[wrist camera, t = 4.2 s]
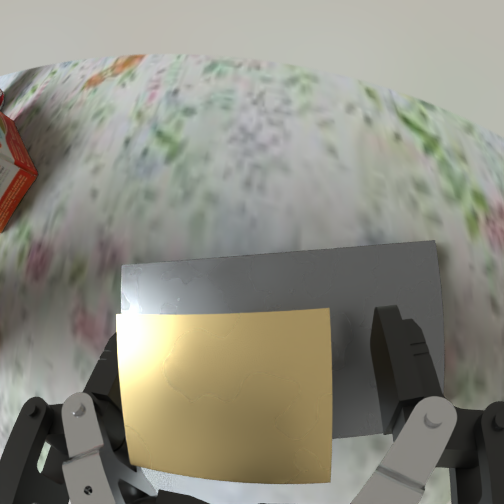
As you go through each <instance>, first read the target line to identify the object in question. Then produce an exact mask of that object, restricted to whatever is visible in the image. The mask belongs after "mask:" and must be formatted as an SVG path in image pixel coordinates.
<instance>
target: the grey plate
mask: <svg viewBox="0 0 504 504" xmlns="http://www.w3.org/2000/svg"><path fill="white" fill-rule="evenodd" d="M389 305H397V306H398V308H399V311H400V314H401V317H402V320H404V319H411V318H412V319H413V320H414V321H415V322H416V323H417V324H418V326H419V327H420V328H421V329H422V332H423V334H424V337H425V340H426V344H427V346H428V349H429V354H430V355H431V358H432V361H433V364H434V367H435V370H436V374H437V377H438V380H439V384H440V387H441V391H442V393H444V320H443V304H442V292H441V281H440V272H439V264H438V257H437V250H436V243H435V240H432V241H420V242H407V243H395V244H383V245H371V246H358V247H346V248H334V249H321V250H309V251H296V252H284V253H271V254H258V255H246V256H233V257H220V258H207V259H194V260H181V261H168V262H155V263H142V264H129V265H122V268H121V314H125V315H190V314H230V313H255V312H275V311H292V310H307V309H321V308H329V309H330V328H331V353H332V439H335V438H347V437H356V436H365V435H372V434H379V433H383V427H382V420H381V412H380V405H379V399H378V392H377V386H376V380H375V374H374V368H373V363H372V357H371V351H370V335H371V329H372V322H373V315H374V309H375V307H380V306H389Z"/></svg>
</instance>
